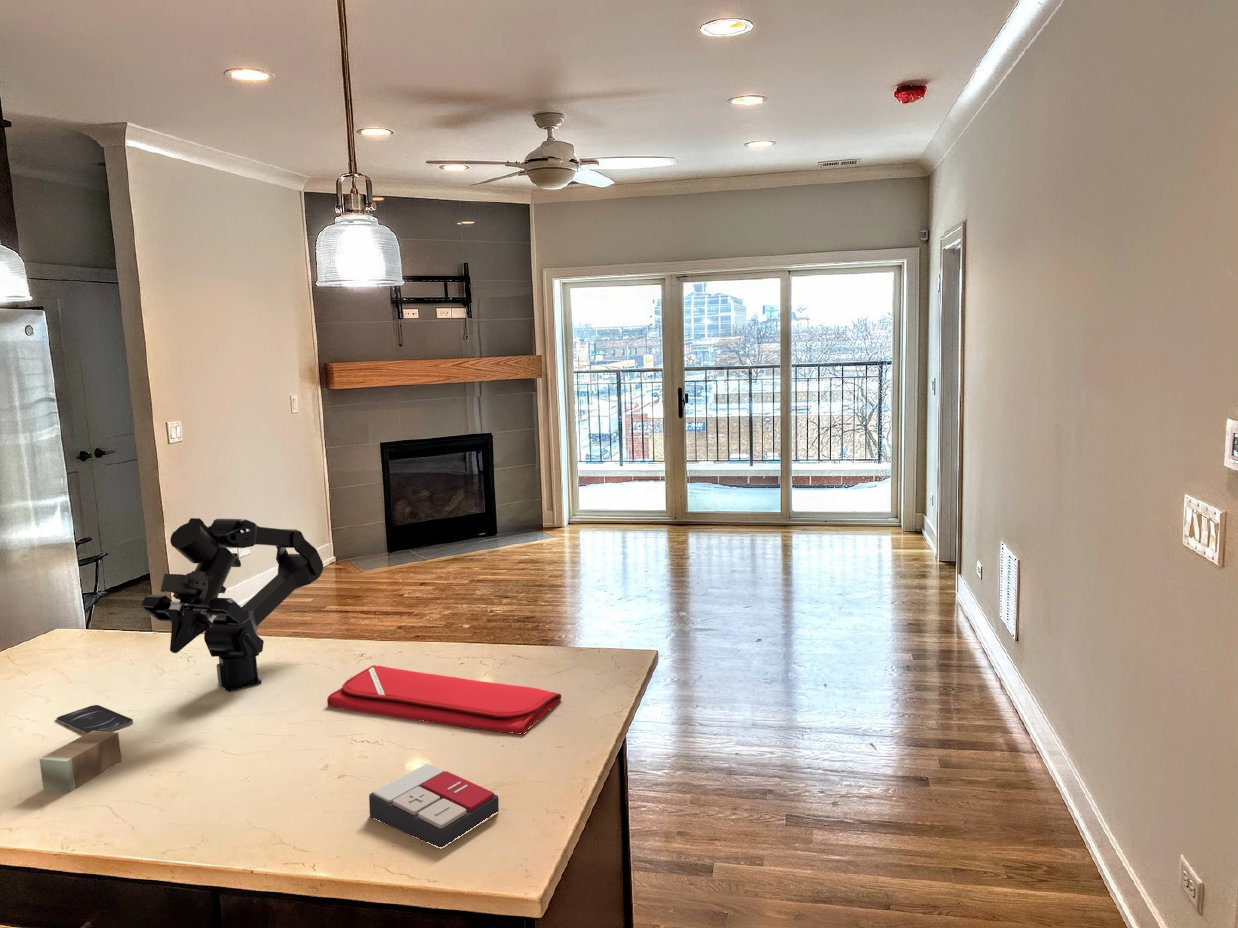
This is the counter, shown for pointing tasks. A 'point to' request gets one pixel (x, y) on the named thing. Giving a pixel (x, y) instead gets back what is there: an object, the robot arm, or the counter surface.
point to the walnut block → (80, 761)
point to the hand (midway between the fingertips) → (173, 652)
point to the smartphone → (94, 720)
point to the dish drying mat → (444, 699)
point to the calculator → (432, 805)
